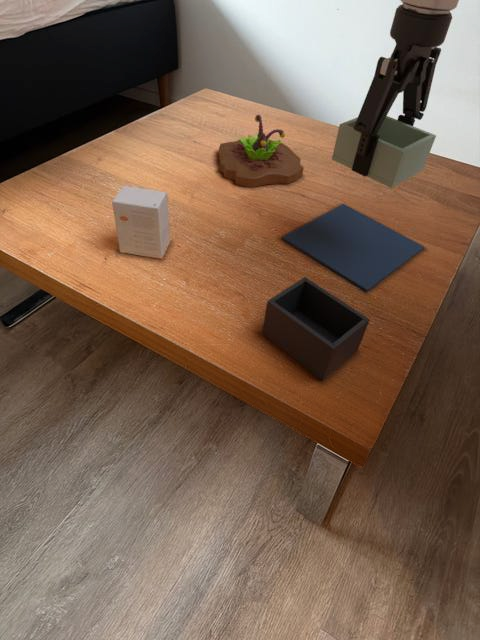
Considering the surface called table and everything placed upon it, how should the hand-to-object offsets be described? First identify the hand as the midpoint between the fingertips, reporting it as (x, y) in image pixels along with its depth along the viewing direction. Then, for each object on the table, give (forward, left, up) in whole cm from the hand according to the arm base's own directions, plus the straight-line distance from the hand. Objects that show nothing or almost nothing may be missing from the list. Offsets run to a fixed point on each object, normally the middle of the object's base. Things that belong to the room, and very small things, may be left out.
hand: (377, 163), depth 77 cm
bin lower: (-11, +27, -17) cm, 34 cm away
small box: (+24, +32, -17) cm, 43 cm away
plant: (+34, -8, -17) cm, 39 cm away
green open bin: (0, 0, 0) cm, 0 cm away
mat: (0, 0, -17) cm, 17 cm away
